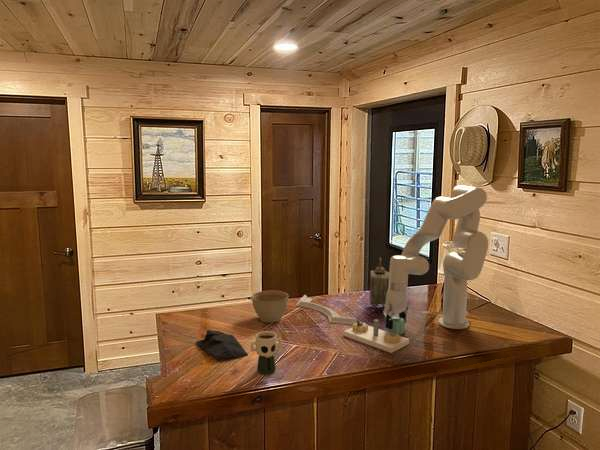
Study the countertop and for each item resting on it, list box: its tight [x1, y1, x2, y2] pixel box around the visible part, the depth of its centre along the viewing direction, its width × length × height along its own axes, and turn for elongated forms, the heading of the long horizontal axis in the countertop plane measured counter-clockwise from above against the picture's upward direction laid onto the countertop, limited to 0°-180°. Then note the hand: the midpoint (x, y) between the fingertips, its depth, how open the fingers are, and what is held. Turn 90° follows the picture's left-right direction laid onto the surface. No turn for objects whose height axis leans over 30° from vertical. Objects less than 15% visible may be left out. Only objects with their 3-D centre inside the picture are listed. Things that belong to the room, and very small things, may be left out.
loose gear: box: [385, 316, 406, 336], centre depth 196 cm, size 8×8×5 cm
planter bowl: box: [251, 290, 289, 324], centre depth 209 cm, size 16×16×11 cm
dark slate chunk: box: [196, 329, 249, 360], centre depth 179 cm, size 15×22×5 cm
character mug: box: [250, 330, 282, 375], centre depth 160 cm, size 11×7×13 cm, turn 112°
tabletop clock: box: [369, 256, 389, 313], centre depth 222 cm, size 14×9×25 cm, turn 172°
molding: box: [296, 294, 358, 326], centre depth 220 cm, size 42×12×3 cm, turn 34°
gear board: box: [343, 319, 410, 354], centre depth 187 cm, size 12×23×8 cm, turn 45°
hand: (395, 325), depth 197 cm, fingers open, 9 cm apart
